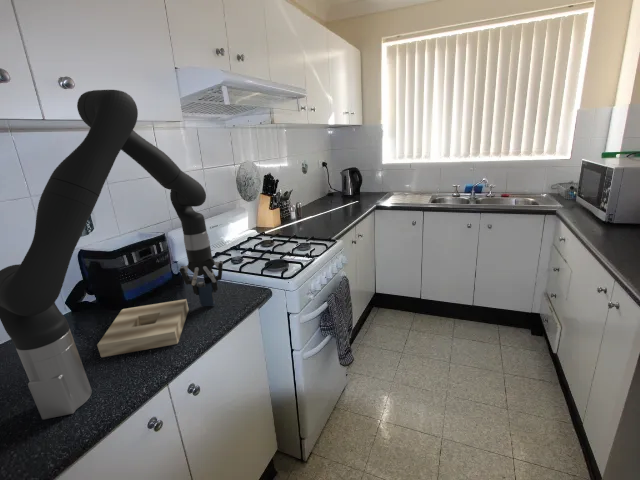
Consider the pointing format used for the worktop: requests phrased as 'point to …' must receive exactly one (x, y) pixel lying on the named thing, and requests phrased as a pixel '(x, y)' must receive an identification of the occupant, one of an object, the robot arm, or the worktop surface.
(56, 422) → the worktop surface
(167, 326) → the socket dock
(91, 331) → the worktop surface
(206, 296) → the vaping device
